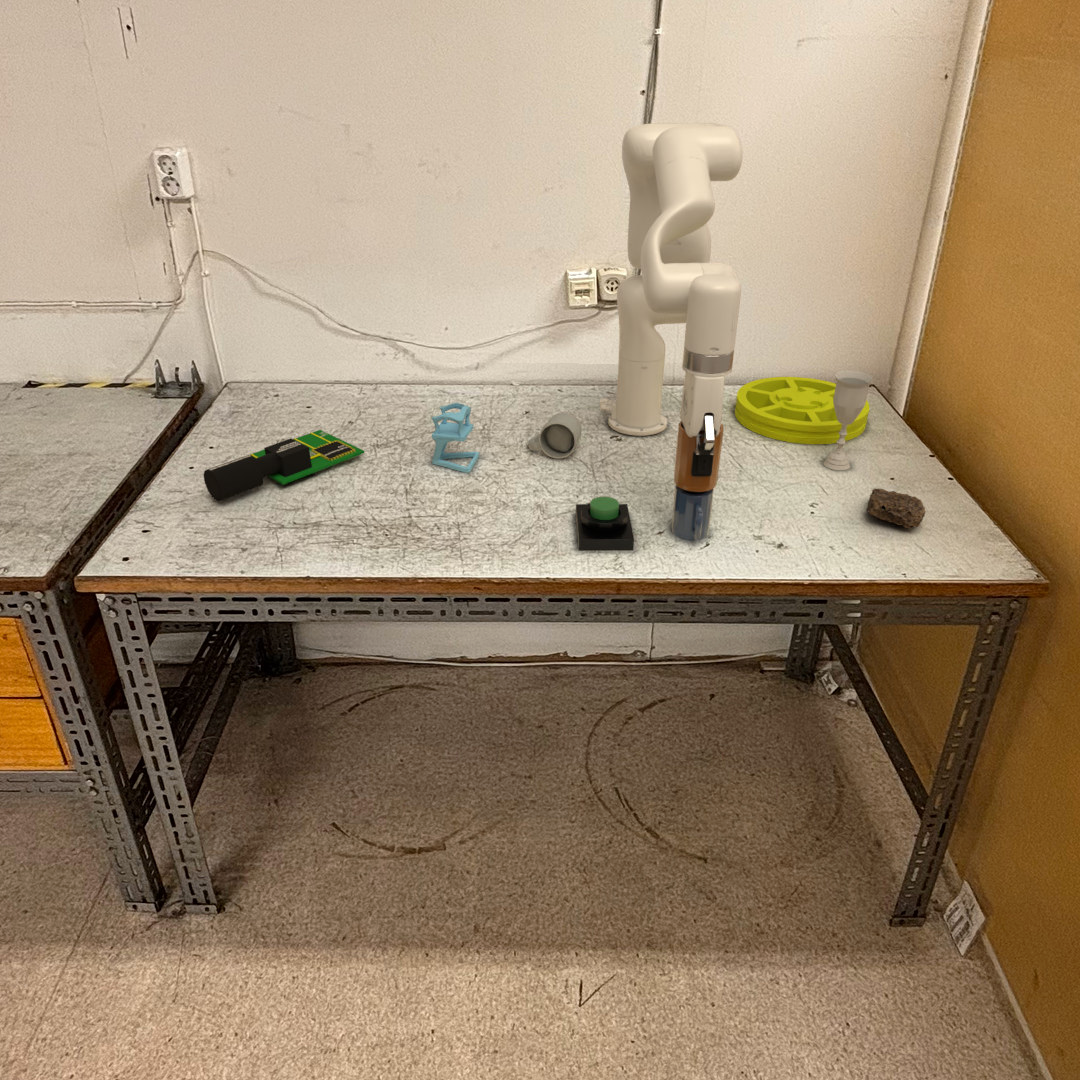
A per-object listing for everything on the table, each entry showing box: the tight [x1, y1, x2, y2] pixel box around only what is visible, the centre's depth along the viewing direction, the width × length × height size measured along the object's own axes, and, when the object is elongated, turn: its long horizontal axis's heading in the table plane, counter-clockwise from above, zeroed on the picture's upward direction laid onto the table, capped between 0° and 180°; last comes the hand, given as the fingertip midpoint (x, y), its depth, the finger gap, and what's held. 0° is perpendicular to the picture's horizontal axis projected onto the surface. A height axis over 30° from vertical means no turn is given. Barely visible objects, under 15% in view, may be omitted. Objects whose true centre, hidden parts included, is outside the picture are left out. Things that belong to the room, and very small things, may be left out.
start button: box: [589, 496, 620, 520], centre depth 145 cm, size 5×5×2 cm
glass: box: [673, 420, 725, 492], centre depth 140 cm, size 7×7×10 cm
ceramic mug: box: [527, 411, 583, 460], centre depth 173 cm, size 11×8×8 cm
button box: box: [575, 502, 635, 552], centre depth 146 cm, size 12×9×4 cm
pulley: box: [734, 376, 870, 445], centre depth 188 cm, size 28×28×5 cm
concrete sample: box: [866, 487, 926, 529], centre depth 150 cm, size 12×10×5 cm
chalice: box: [823, 369, 874, 471], centre depth 165 cm, size 7×7×18 cm
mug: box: [671, 484, 715, 542], centre depth 144 cm, size 9×6×8 cm
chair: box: [431, 402, 480, 474], centre depth 167 cm, size 8×8×12 cm
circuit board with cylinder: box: [203, 429, 365, 503], centre depth 165 cm, size 30×7×15 cm
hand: (697, 463), depth 140 cm, fingers closed on glass, 7 cm apart
